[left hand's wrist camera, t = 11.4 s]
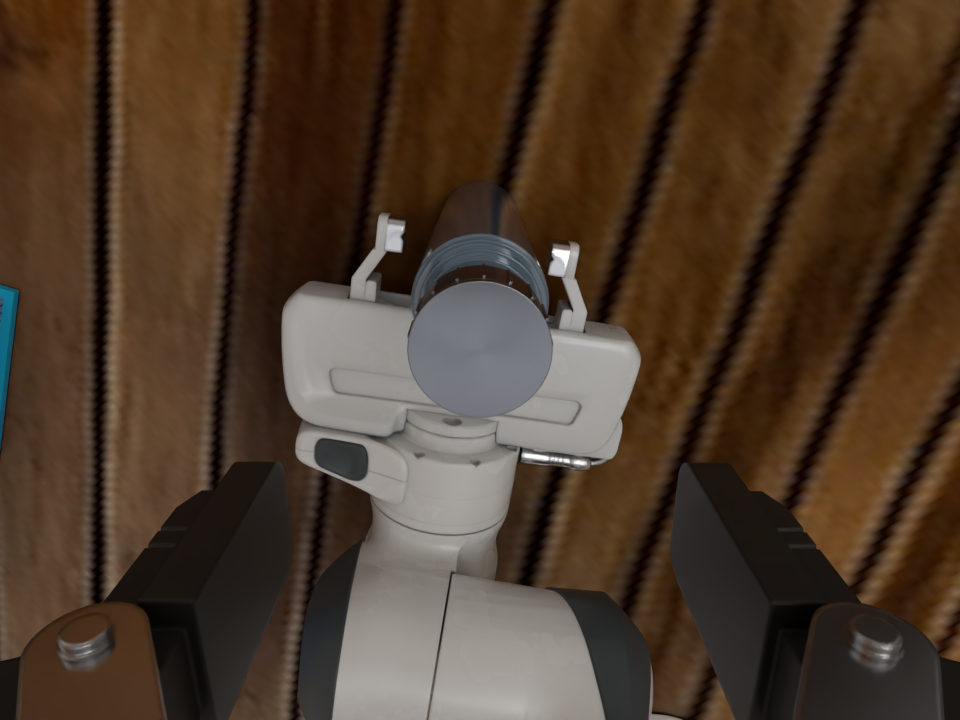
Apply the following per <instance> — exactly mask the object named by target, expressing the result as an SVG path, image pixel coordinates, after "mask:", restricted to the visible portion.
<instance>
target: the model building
mask: <svg viewBox="0 0 960 720" xmlns="http://www.w3.org/2000/svg"><path fill="white" fill-rule="evenodd" d="M18 296H19V290H16V289H13V288H10V287H6V286H3V285H0V449H1V441H2V432H3V424H4V415H5V407H6V398H7V390H8V381H9V373H10V364H11V356H12V347H13V339H14V330H15V322H16V313H17V305H18Z"/></svg>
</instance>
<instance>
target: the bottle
mask: <svg viewBox="0 0 960 720" xmlns="http://www.w3.org/2000/svg"><path fill="white" fill-rule="evenodd" d="M482 264H485V265H489V266H494V267H499V268H502V269H505V270H508V269H509V270H510V272H511V273H513V274H515V275H517V276H518V277H519V278H521V279H522V280H523V281H525V282H526V283H527V284H530V285H531V288H532V290H533V291H534V292H535V294H536V295H537V297H538V299H539V301H540V303H541V304H543V305H544V307H545V310H546V313H547V314H548V309H549V292H548V286H547V282H546V279H545V276H544V273H543V271H542V268H541V266H540V263H539V261H538V258H537V256H536V253H535V251H534V248H533V246H532V243H531V241H530V238H529V236H528V233H527V231H526V228H525V226H524V223H523V221H522V218H521V216H520V213H519V211H518V208H517V206H516V204H515V202H514V200H513V198H512V197H511V196H510V195H509V193H507V192H506V191H505V190H504V189H503V188H501V187H500V186H498V185H496V184H493V183H490V182H484V181H475V182H470V183H467V184H464V185H462V186H460V187H459V188H457V189H456V190H455V191H454V192H453V193H452V194H451V195H450V196H449V197H448V199H447V200H446V202H445V204H444V206H443V208H442V211H441V213H440V216H439V218H438V221H437V223H436V226H435V228H434V231H433V233H432V236H431V238H430V241H429V243H428V246H427V248H426V251H425V253H424V256H423V258H422V261H421V263H420V266H419V268H418V271H417V273H416V276H415V279H414V282H413V286H412V291H411V309H412V314H413V318H414V317H415V310H416V307H417V304H418V301H419V298H420V297H421V298H422V297H423V295H424V294H425V292H426V291H427V290H428V289H429V287H430V286H431V285H432V284H433V283H434V281H435V279H436V278H437V279H439V278H440V277H442V276H444V275H445V274H447V273H449V272H451V271H453V270H455V269H457V267H460V268H461V267H466V266H471V265H482Z"/></svg>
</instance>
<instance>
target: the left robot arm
mask: <svg viewBox="0 0 960 720" xmlns="http://www.w3.org/2000/svg"><path fill="white" fill-rule="evenodd" d="M292 548H293V543H292V531H291V523H290V514H289V505H288V496H287V488H286V479H285V472H284V468H283V466H282V464H281V463H280V462H235V463H234V464H233V465H232V466H231V467H230V469H229V470H228V472H227V473H226V475H225V476H224V477H223V479H222V480H221V482H220V483H219V484H218V486H217V487H216V489H215V490H202V491H200V492H199V493H197V494H196V495H194V496H193V497H192V498H190V499H189V500H187V501H186V502H184V503H183V504H181V505H180V506H178V507H177V508H176V509H175V510H174V511H173V513H172V514H171V515H170V517H169V518H168V519H167V521H166V522H165V523H164V524H163V526H162V527H161V531H158V532H157V533H156V535H155V536H154V537H153V539H152V540H151V541H150V543H149V546H148V548H145V549H144V550H143V552H142V553H141V554H140V556H139V557H138V558H137V559H136V561H135V562H134V563H133V565H132V566H131V567H130V568H129V570H128V571H127V572H126V574H125V575H124V576H123V578H122V579H121V580H120V581H119V583H118V584H117V585H116V587H115V588H114V589H113V590H112V592H111V593H110V594H109V596H108V597H107V598H106V600H105V601H104V602H103V603H98V604H93V605H89V606H86V607H83V608H80V609H77V610H74V611H72V612H70V613H68V614H65V615H63V616H62V617H60V618H58V619H56V620H54V621H53V622H51V623H50V624H48V625H47V626H46V627H44V628H43V629H42V630H41V631H39V632H38V633H37V634H36V635H35V636H34V637H33V638H32V639H31V640H30V642H29V643H28V644H27V646H26V647H25V649H24V651H23V653H22V655H21V657H17V658H13V659H9V660H4V661H0V720H228V719H229V717H230V714H231V712H232V710H233V707H234V705H235V702H236V700H237V698H238V695H239V693H240V690H241V688H242V686H243V683H244V681H245V678H246V676H247V674H248V671H249V669H250V666H251V664H252V661H253V659H254V657H255V654H256V652H257V649H258V647H259V645H260V642H261V640H262V637H263V635H264V633H265V630H266V628H267V625H268V623H269V621H270V618H271V616H272V613H273V611H274V609H275V606H276V604H277V601H278V599H279V597H280V594H281V592H282V589H283V587H284V585H285V582H286V580H287V577H288V574H289V571H290V567H291V561H292ZM671 559H672V566H673V570H674V574H675V577H676V580H677V582H678V584H679V587H680V589H681V592H682V594H683V596H684V599H685V601H686V603H687V606H688V608H689V611H690V613H691V615H692V618H693V620H694V622H695V625H696V627H697V629H698V632H699V634H700V637H701V639H702V641H703V644H704V646H705V648H706V651H707V653H708V656H709V658H710V660H711V663H712V665H713V667H714V670H715V672H716V674H717V677H718V679H719V682H720V684H721V686H722V689H723V691H724V693H725V696H726V698H727V701H728V703H729V705H730V708H731V710H732V712H733V715H734V717H735V719H736V720H960V662H957V661H953V660H949V659H945V658H942V657H939V655H938V653H937V651H936V649H935V647H934V646H933V644H932V643H931V642H930V640H929V639H928V638H927V637H926V636H925V635H924V634H923V633H922V632H921V631H919V630H918V629H917V628H916V627H914V626H913V625H912V624H910V623H909V622H907V621H906V620H904V619H902V618H900V617H898V616H897V615H895V614H892V613H890V612H888V611H886V610H883V609H880V608H877V607H874V606H871V605H867V604H862V603H861V602H860V601H859V599H858V598H857V597H856V596H855V594H854V593H853V592H852V590H851V589H850V588H849V587H848V585H847V584H846V583H845V581H844V580H843V579H842V578H841V576H840V575H839V574H838V573H837V571H836V570H835V569H834V567H833V566H832V565H831V564H830V562H829V561H828V560H827V558H826V557H825V556H824V555H823V553H822V552H821V551H820V550H817V549H816V544H815V543H814V542H813V540H812V539H811V538H810V537H809V535H808V534H807V533H804V532H803V528H802V526H801V525H800V524H799V523H798V521H797V520H796V519H795V517H794V516H793V515H792V514H791V512H790V511H789V510H788V508H786V507H785V506H783V505H781V504H780V503H778V502H777V501H775V500H774V499H772V498H771V497H769V496H768V495H766V494H765V493H763V492H762V491H749V489H748V488H747V487H746V485H745V484H744V483H743V481H742V480H741V478H740V477H739V476H738V474H737V473H736V471H735V470H734V469H733V467H732V466H731V465H730V464H729V463H683V464H682V466H681V468H680V471H679V476H678V484H677V493H676V501H675V510H674V518H673V527H672V536H671Z"/></svg>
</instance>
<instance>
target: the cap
mask: <svg viewBox="0 0 960 720" xmlns="http://www.w3.org/2000/svg"><path fill="white" fill-rule="evenodd" d="M547 321H549V319H548V316H547V313H546V310H545V307H544V305H543V304H541V303H540V301H539V299H538V297H537V295H536V294H535V292H534V291H533V290H532V288H531V285H530V284H527V283H526V282H525V281H523V280H522V279H521V278H519V277H518V276H517V275H515V274H513V273H511V272H510V270H509V269H508V270H505V269H502V268H499V267H494V266H489V265H485V264H482V265H471V266H466V267H461V268H460V267H457V269H455V270H453V271H451V272H449V273H447V274H445V275H444V276H442V277H440V278H439V279H437V278H436V279H435V281H434V283H433V284H432V285H431V286H430V287H429V289H428V290H427V291H426V292H425V294H424V295H423V297H422V298H421V297H420V298H419V301H418V304H417V307H416V310H415V317H414V320H412V323H411V326H410V329H409V332H408V335H407V338H408V345H407V353H408V361H409V366H410V369H411V372H412V374H413V377H414V379H415V381H416V382H417V384H418V386H419V387H420V388H421V390H422V391H423V392H424V393H425V394H426V395H427V396H428V398H429V399H431V400H432V401H433V402H434V403H436V404H437V405H439V406H440V407H442V408H444V409H446V410H448V411H450V412H452V413H455V414H458V415H461V416H467V417H475V418H485V417H493V416H498V415H502V414H505V413H508V412H510V411H512V410H515V409H516V408H518V407H520V406H521V405H523V404H524V403H526V402H527V401H528V400H529V399H530V398H531V397H532V396H533V395H534V394H535V393H536V392H537V391H538V390H539V388H540V387H541V386H542V384H543V382H544V381H545V379H546V377H547V374H548V372H549V369H550V366H551V362H552V354H553V341H552V337H551V333H550V329H549V326H548V323H547Z"/></svg>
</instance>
